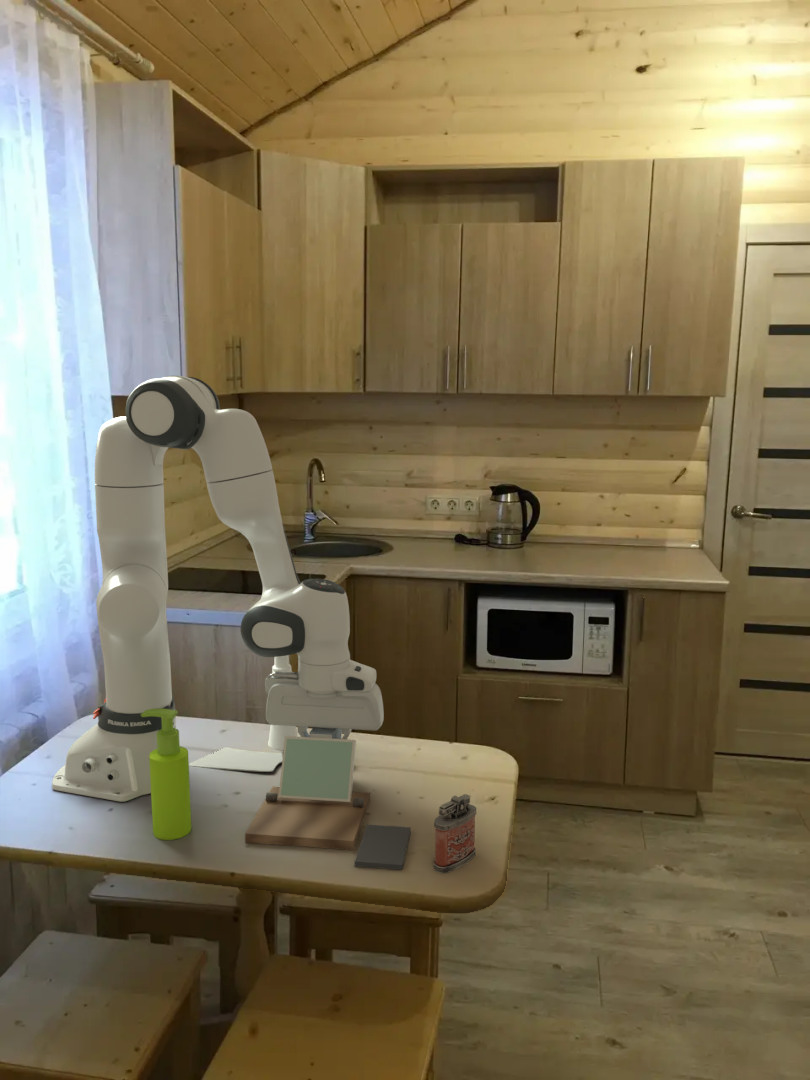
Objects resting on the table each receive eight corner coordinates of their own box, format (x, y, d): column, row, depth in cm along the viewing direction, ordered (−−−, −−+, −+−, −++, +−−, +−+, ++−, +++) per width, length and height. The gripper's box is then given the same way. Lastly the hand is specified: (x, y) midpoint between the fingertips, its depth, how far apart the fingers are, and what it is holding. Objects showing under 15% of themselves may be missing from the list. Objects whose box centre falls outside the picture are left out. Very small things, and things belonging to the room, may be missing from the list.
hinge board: (245, 842, 138) (244, 825, 138) (272, 794, 154) (272, 779, 153) (353, 850, 136) (353, 833, 136) (370, 800, 152) (370, 785, 151)
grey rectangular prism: (308, 778, 152) (309, 732, 151) (319, 763, 160) (319, 719, 159) (331, 780, 152) (332, 733, 151) (341, 764, 160) (341, 720, 159)
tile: (280, 797, 149) (278, 797, 148) (286, 736, 152) (284, 736, 151) (351, 802, 147) (349, 802, 146) (356, 740, 151) (355, 739, 149)
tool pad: (354, 866, 132) (354, 861, 131) (367, 829, 142) (367, 824, 142) (401, 869, 131) (401, 864, 131) (410, 832, 142) (410, 827, 141)
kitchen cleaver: (175, 760, 165) (201, 739, 174) (176, 769, 165) (202, 747, 174) (336, 774, 157) (353, 751, 166) (336, 783, 157) (354, 759, 166)
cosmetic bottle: (272, 738, 177) (269, 631, 173) (302, 739, 177) (300, 632, 173) (264, 751, 171) (261, 640, 167) (295, 752, 171) (293, 641, 167)
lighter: (463, 846, 137) (464, 786, 135) (480, 854, 135) (482, 793, 133) (428, 867, 132) (428, 804, 130) (445, 876, 129) (446, 812, 127)
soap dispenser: (156, 819, 145) (150, 702, 141) (197, 823, 144) (192, 705, 140) (140, 837, 139) (133, 716, 136) (182, 841, 138) (177, 719, 135)
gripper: (259, 677, 151) (261, 754, 153) (380, 682, 148) (379, 760, 151) (269, 665, 157) (271, 739, 159) (385, 670, 154) (385, 745, 157)
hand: (325, 749), depth 155 cm, fingers open, 4 cm apart
